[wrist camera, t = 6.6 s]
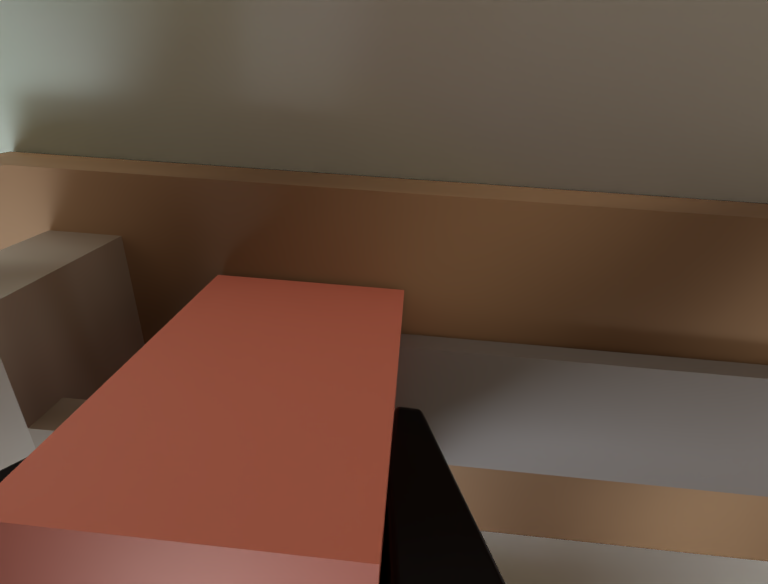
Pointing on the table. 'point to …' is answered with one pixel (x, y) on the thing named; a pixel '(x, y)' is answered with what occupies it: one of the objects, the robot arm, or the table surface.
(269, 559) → the tab
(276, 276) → the plank
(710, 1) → the table surface
